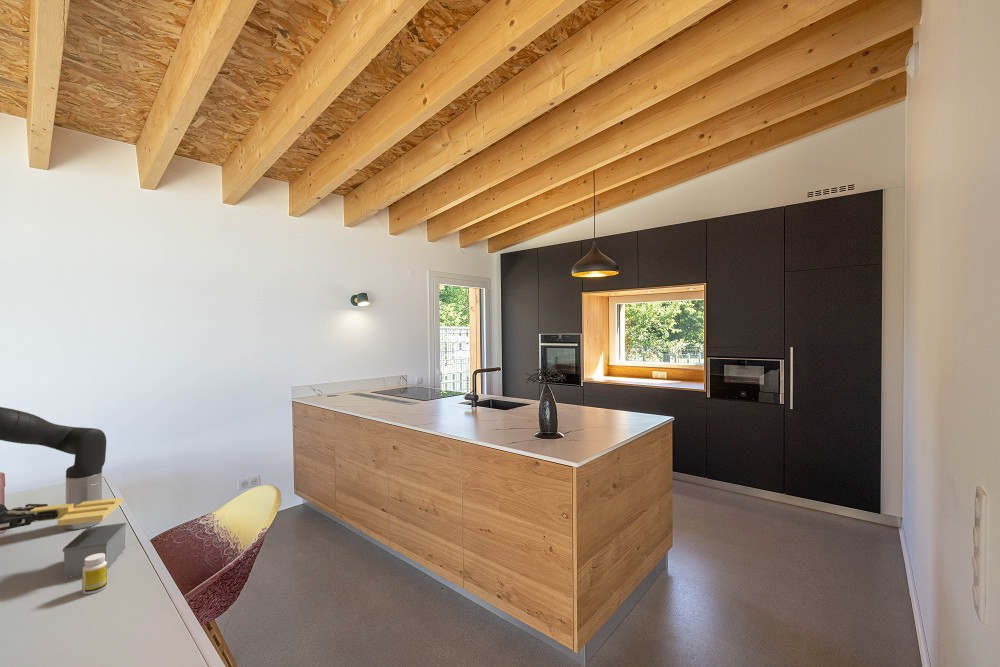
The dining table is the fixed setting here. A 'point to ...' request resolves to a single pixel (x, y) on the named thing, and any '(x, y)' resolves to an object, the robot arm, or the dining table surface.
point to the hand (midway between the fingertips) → (59, 511)
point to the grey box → (94, 547)
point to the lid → (82, 511)
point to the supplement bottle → (94, 573)
